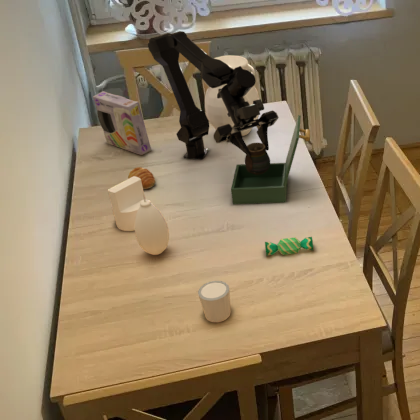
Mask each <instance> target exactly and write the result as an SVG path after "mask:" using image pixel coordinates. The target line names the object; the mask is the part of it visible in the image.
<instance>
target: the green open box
mask: <svg viewBox="0 0 420 420" xmlns="http://www.w3.org/2000/svg"><path fill="white" fill-rule="evenodd" d="M285 163H286V162H270V166H269V169H268V170H267V171H266V172H265V173H263V174H259V175H255V174H252V173H250V172H249V171H247V168H246V166H245V163H244V164H243V163H241V164H236V166H235V169H234V170H235V171H234V175H233V178H232V183H231V186H230V195H231V201H232V205H251V204H255V205H256V204H276V203H277V204H278V203H286V202H287V194H288V182H289V178H288V179H287V183H286V186H283V182H284V173H285Z"/></svg>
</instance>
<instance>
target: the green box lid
mask: <svg viewBox="0 0 420 420" xmlns="http://www.w3.org/2000/svg"><path fill="white" fill-rule="evenodd" d="M301 117H302V116H301V115H300V114H298V115H297V119H296V122H295V126H294V128H293V133H292V136H291V141H290V144H289V147H288V151H287V155H286V158H285V162H284V163H285V173H284V182H283V186H286V183H287V179H288V180H289V176H290V172H291V168H292V165H293V161H294V158H295V155H296V151H297V148H298V144H299V140H300V139H302V140H304V141H305V142H309V141H310V140H311V130H310V129H309V128H306V129H304V128H301ZM300 133H303V134H304V135H302V134H300Z"/></svg>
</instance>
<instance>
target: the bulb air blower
mask: <svg viewBox="0 0 420 420" xmlns="http://www.w3.org/2000/svg"><path fill="white" fill-rule="evenodd" d="M143 198H144V200H143V201H141V202H140V207H139V209H138V211H137V214H136V218H135V230H134V235H135V238H136V241H137V243H138V245H139V246H140V248H141V249H142V250H143V251H144V252H146V254H150V255H153V256H158V255H160V254H162V253H163V252H164V251H165V250H166V249H167V248H168V245H169V241H170V229H169V226H168V223H167V220H166V218H165V216H164V215H163V213H162V212H161V210H160V209H159V208H158V207H157V206H156V205H154V204H153V203H152V201H151V200H150V199H147V198H146V195H145V192H144V193H143Z"/></svg>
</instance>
